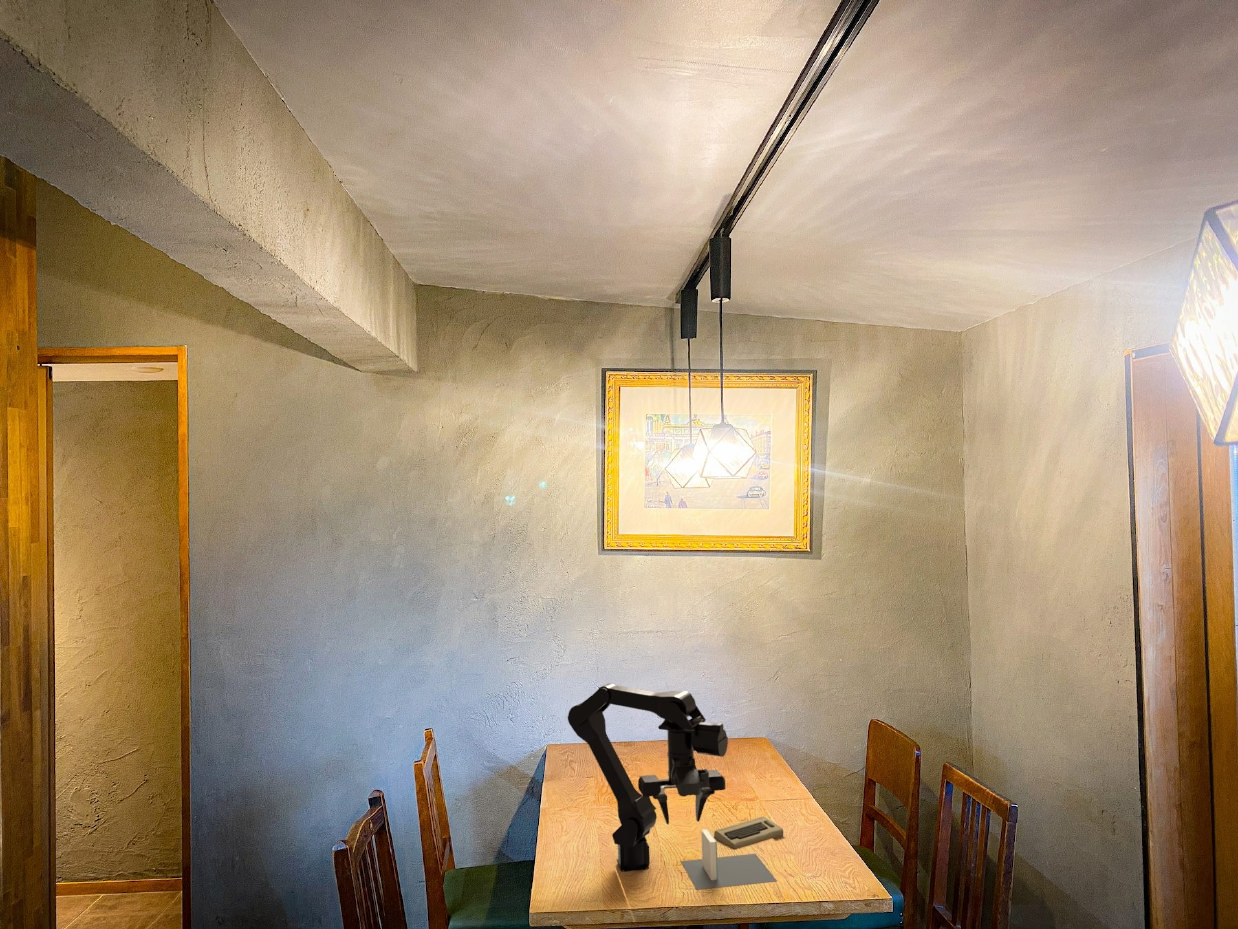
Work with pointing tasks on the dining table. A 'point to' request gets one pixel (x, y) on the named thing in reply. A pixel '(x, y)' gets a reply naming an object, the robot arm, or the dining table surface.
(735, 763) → the dining table surface
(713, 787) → the robot arm
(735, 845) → the computer
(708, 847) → the tile
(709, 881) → the mat
